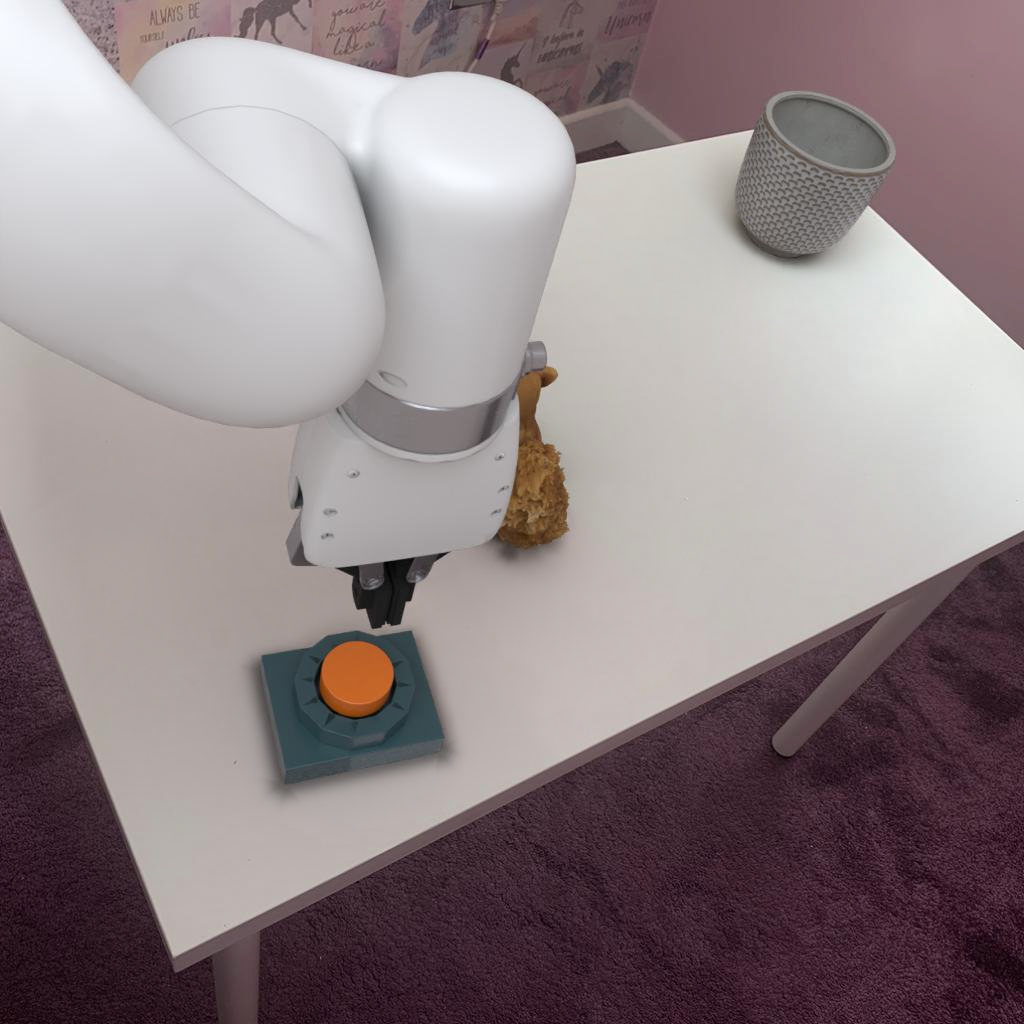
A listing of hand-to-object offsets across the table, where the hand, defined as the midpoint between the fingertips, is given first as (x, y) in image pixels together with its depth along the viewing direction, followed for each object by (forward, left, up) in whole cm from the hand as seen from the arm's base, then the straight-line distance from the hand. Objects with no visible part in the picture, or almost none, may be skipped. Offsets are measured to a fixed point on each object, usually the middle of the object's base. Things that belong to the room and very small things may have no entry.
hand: (379, 605), depth 59 cm
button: (0, 0, -9) cm, 9 cm away
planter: (+57, +45, -13) cm, 74 cm away
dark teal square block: (0, 0, -13) cm, 13 cm away
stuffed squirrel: (+15, +15, -13) cm, 25 cm away
